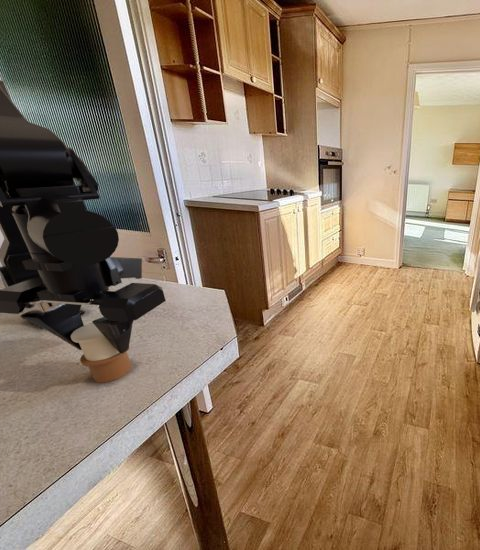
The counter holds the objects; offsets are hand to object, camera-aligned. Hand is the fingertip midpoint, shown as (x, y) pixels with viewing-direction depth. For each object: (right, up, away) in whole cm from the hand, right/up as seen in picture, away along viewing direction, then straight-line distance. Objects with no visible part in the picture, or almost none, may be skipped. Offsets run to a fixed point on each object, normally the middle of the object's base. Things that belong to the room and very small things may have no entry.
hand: (104, 349), depth 42 cm
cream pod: (0, 0, 0) cm, 0 cm away
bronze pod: (0, -4, +2) cm, 4 cm away
